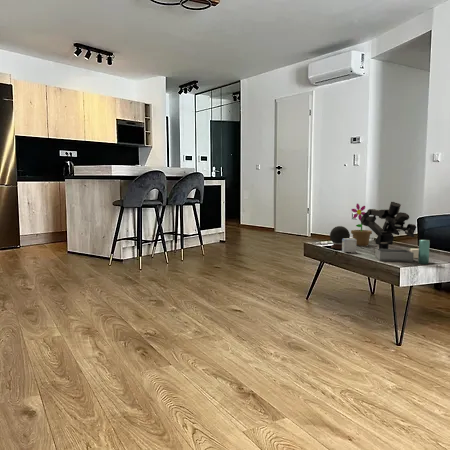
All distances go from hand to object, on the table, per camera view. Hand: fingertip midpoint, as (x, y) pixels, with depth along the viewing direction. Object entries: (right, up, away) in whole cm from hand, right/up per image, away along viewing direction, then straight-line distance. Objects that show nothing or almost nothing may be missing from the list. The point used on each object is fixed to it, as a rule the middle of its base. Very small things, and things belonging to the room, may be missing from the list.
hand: (406, 235), depth 233 cm
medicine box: (-22, -12, +34) cm, 42 cm away
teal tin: (+7, -15, -5) cm, 17 cm away
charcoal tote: (-4, -14, +7) cm, 16 cm away
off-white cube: (+11, -13, +14) cm, 23 cm away
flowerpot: (-2, -9, +70) cm, 71 cm away
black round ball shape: (-23, -10, +53) cm, 59 cm away
